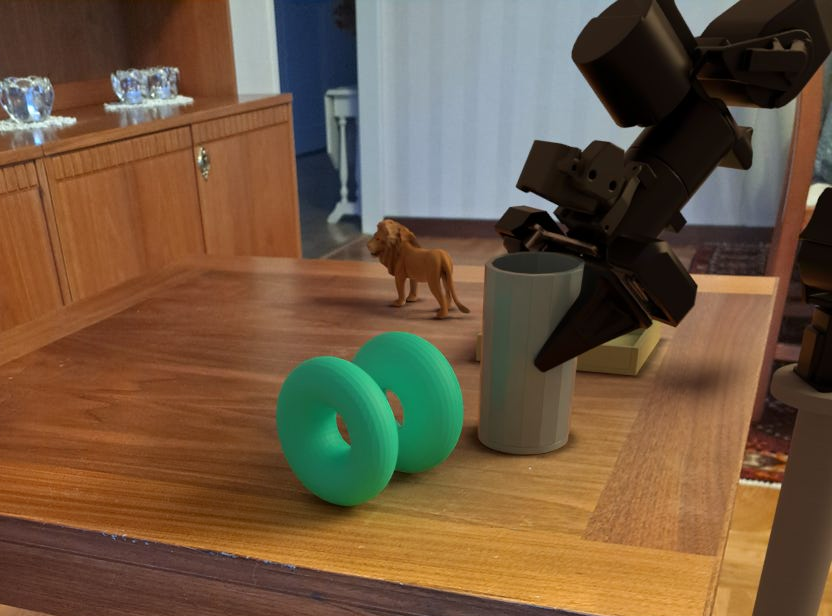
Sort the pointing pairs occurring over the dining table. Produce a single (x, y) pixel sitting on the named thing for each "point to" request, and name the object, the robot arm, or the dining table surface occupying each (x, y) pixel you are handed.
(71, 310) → the dining table surface
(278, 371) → the dining table surface
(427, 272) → the lion figurine
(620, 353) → the tray
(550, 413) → the cup
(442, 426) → the donuts
